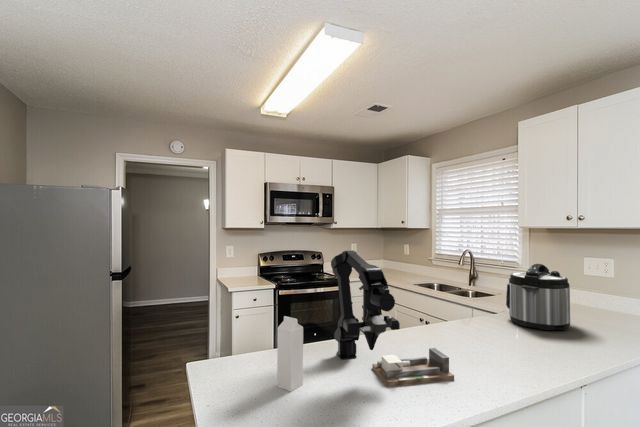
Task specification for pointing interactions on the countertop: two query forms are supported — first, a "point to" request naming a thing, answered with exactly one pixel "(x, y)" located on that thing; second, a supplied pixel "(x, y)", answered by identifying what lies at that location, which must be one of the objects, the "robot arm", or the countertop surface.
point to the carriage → (393, 363)
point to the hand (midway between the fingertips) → (371, 349)
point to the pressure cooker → (539, 299)
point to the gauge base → (418, 370)
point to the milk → (290, 354)
